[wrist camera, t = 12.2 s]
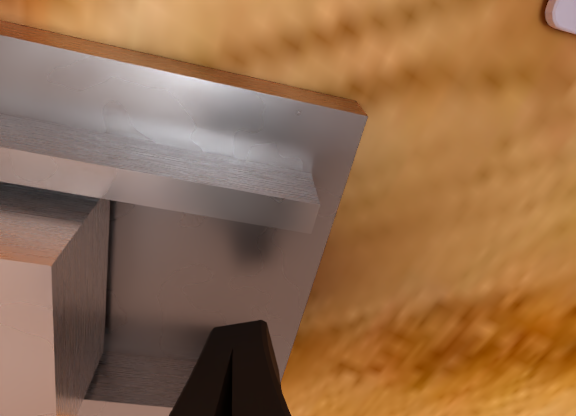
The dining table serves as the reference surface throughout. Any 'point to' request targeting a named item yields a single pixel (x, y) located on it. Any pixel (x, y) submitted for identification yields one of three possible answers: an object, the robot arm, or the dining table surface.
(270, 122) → the press frame
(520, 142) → the dining table surface
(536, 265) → the dining table surface
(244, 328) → the robot arm
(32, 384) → the ram
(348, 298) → the dining table surface
